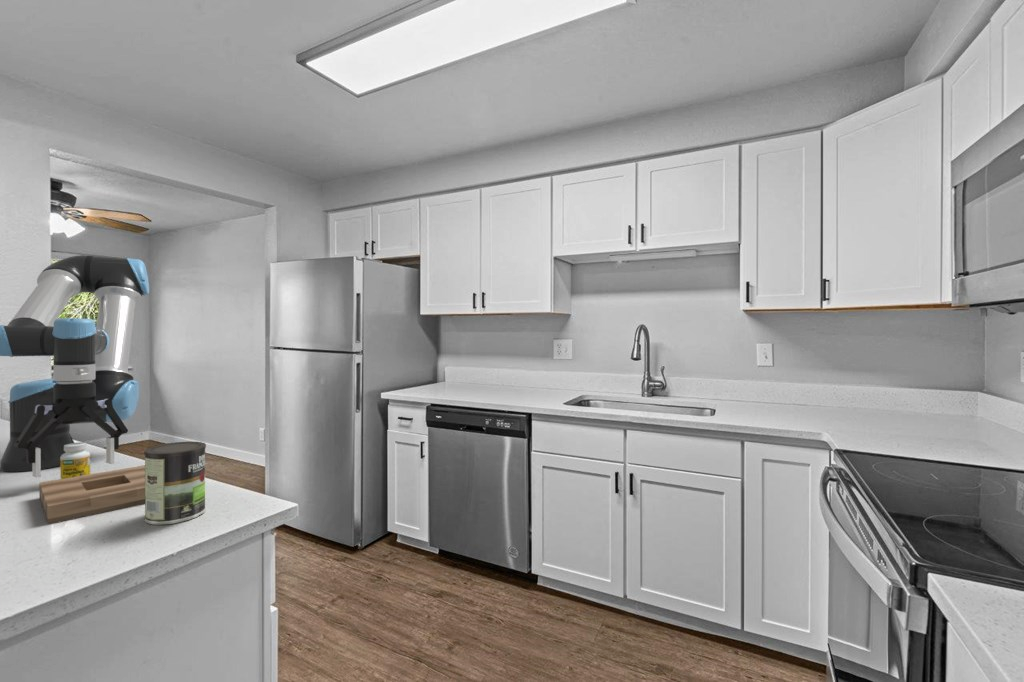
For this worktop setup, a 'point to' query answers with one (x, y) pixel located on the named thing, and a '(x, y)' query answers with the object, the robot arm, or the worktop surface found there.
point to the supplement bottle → (75, 461)
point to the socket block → (92, 493)
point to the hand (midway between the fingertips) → (75, 469)
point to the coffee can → (174, 482)
